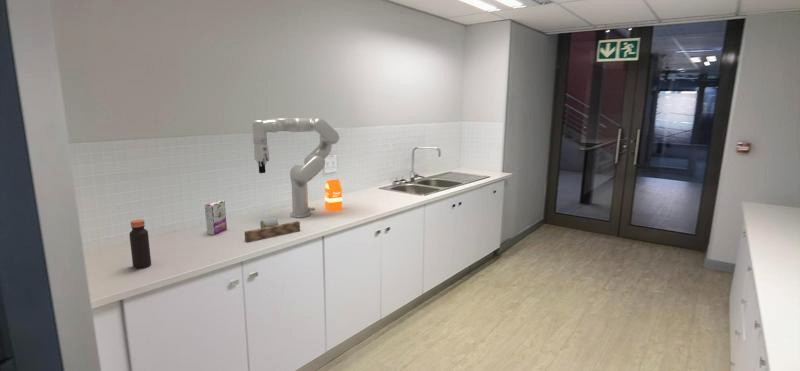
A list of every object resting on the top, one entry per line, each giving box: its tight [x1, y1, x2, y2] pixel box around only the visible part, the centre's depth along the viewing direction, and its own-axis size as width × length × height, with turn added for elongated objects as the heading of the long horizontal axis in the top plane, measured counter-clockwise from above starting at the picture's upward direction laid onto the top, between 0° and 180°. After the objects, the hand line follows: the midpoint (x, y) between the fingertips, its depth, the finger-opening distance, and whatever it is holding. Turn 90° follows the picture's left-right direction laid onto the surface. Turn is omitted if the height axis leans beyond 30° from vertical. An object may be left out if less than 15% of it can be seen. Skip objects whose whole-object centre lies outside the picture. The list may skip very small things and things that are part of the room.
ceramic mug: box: [259, 216, 279, 228], centre depth 234 cm, size 11×8×8 cm
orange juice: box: [324, 178, 343, 212], centre depth 283 cm, size 8×9×20 cm
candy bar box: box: [204, 200, 228, 236], centre depth 233 cm, size 11×5×16 cm, turn 168°
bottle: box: [129, 219, 152, 270], centre depth 183 cm, size 7×7×20 cm
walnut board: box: [243, 220, 301, 243], centre depth 228 cm, size 30×2×5 cm, turn 132°
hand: (262, 172), depth 252 cm, fingers closed
